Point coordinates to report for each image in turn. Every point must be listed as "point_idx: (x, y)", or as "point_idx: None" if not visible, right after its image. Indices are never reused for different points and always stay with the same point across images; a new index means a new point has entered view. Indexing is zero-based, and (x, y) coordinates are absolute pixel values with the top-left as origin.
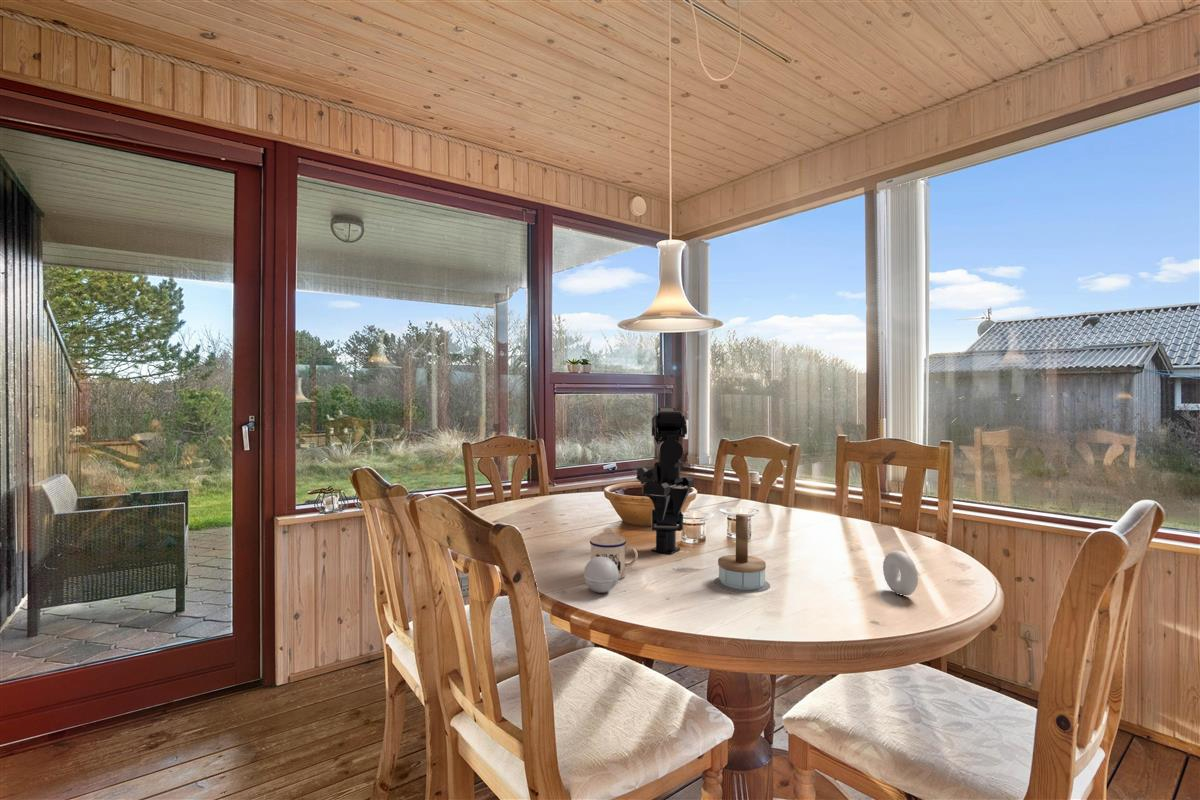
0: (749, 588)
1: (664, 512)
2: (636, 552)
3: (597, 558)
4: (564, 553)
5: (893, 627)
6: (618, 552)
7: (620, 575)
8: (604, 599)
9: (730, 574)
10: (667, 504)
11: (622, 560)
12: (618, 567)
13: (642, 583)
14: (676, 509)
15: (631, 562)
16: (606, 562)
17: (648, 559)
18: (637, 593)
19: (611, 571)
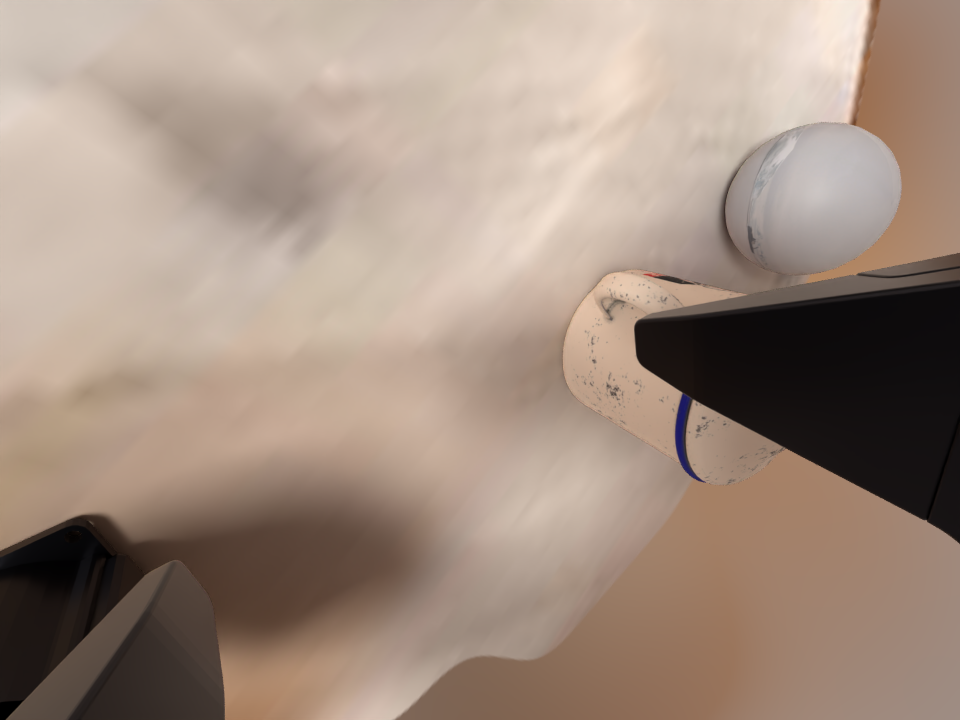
0: None
1: (770, 294)
2: (647, 279)
3: (896, 207)
4: (541, 641)
5: None
6: (737, 294)
7: (632, 272)
8: (781, 124)
9: None
10: (938, 279)
11: (674, 290)
12: (672, 278)
13: (603, 161)
14: (194, 657)
15: (600, 301)
16: (892, 157)
17: (311, 470)
18: (696, 75)
19: (858, 127)
